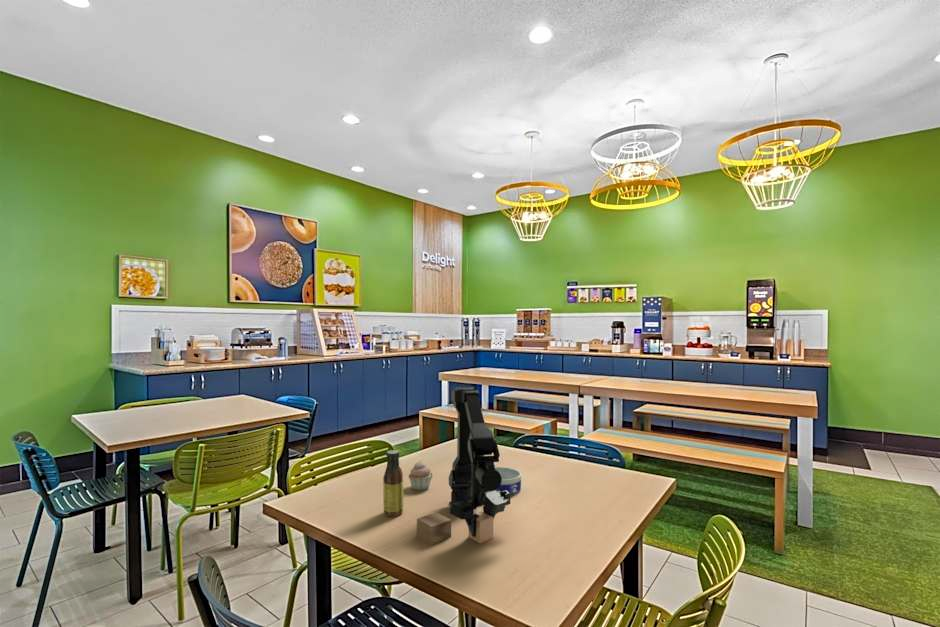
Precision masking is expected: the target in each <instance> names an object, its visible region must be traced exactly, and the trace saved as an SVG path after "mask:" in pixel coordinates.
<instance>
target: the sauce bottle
mask: <svg viewBox="0 0 940 627" xmlns="http://www.w3.org/2000/svg"><path fill="white" fill-rule="evenodd" d="M399 458H400V451H399V450H396V449H393V450H392V449H391V450H387V451H386V461H387V462H386V468H385V471H384V475H383V477H382V478H383V489H382V490H383V493H382V494H383V513H384V515H385V516H387V517H398V516H401V515H402V513H403V512H404V478H403V471H402V468H401V467H400V459H399Z"/></svg>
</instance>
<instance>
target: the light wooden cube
mask: <svg viewBox="0 0 940 627" xmlns="http://www.w3.org/2000/svg"><path fill="white" fill-rule="evenodd" d="M476 514H477V515H479V517H478V518H477V520H476V536H475V537H473V536H472V535H471V532H470V530H469V529H468V538H470V539H471V540H473V541H475V542H477V544H478V543H479V544H482V543H485V542H487V541H490V540H492V539H494V520H493V517H492V516H490V515H488V514H486V513H484V512H483V510H482V511H479V512H476Z"/></svg>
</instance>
